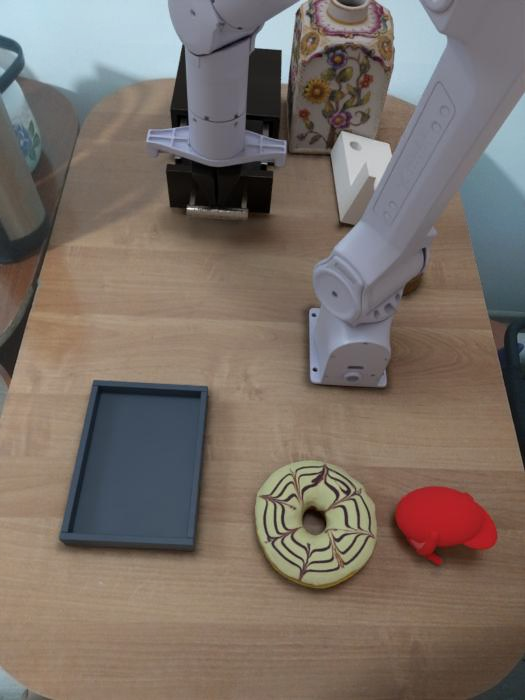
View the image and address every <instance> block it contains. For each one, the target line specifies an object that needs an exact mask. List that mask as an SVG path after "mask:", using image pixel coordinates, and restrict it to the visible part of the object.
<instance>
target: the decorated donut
mask: <svg viewBox="0 0 525 700" xmlns="http://www.w3.org/2000/svg"><path fill="white" fill-rule="evenodd" d="M255 498H256V499H255V505H254V517H255V518H254V523H255V525H254V526H255V531H256V537H257V540H258V542H259V545H260V547H261V549H262V551H263V553H264V556H265V557H266V559H267V561H268V562H269V563H270V564H271V566H272V567H273V569H274V570H275V571H276V572H277V573H279V574H280V575H281V576H283V577H284V578H286V579H288V580H289V581H291V582H293V583H296V584H298V585H301V586H303V587H306V588H307V587H308V588H313V589H328V588H330V587H334V586H336V585H339V584H340V583H342V582H344V581H347V580H348V579H349V578H352V577H353V576H354V575H355V574H357V573H358V572H359V571H360V570H361V569H363V567H364V566H365V565H366V564H367V563H368V561H369V559H370V557H371V556H372V554H373V552H374V549H375V545H376V542H377V540H378V539H377V536H378V521H377V516H376V510H377V509H376V505H375V503H374V501H373V499H372V498H371V497H370V496H369V495H368V494H367V493H366V488H365V486H364V485H363V484H362V483H360V482H359V481H358V480H357V479H355V478H353V477H352V475H351V474H349V473H348V472H347V471H345V470H344V469H342V468H341V467H340V466H338V465H335V464H333V463H330V462H325V461H320V460H316V459H308V460H299V461H297V462H296V461H294V462H290V463H289V464H286V465H283V466H281V467H279V468H278V469H276V470H275V471H274V472H272V473H271V474H270V475H269V477H268V478H267V479H266V480H265V482H263V484H262V486H261V487H260V488H259V490H258V491H257V494H256V497H255ZM308 510H315V512H319V513H320V514H321V515H322V517H323V518H324V520H325V529H324V530H322V532H320V533H319V534H311V533H309V532H308V531H307V530H306V528H305V527H304V524H303V517H304V514H305V512H306V511H308Z"/></svg>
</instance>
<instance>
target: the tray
mask: <svg viewBox="0 0 525 700" xmlns="http://www.w3.org/2000/svg"><path fill="white" fill-rule="evenodd" d="M208 404H209V386H208V385H192V384H176V383H175V384H174V383H158V382H138V381H119V380H102V379H93V380H92V385H91V390H90V394H89V398H88V403H87V407H86V413H85V417H84V420H83V421H84V422H83V426H82V431H81V436H80V440H79V445H78V450H77V453H76V459H75V463H74V468H73V473H72V478H71V481H70V487H69V490H68V496H67V501H66V505H65V510H64V514H63V519H62V522H61V523H62V524H61V528H60V533H59V537H58V540H59V541H60V542H61V543H62V544H63V545H64V546H79V547H80V546H81V547H101V548H102V547H105V548H125V549H147V550H165V551H166V550H167V551H168V550H169V551H191V552H192V551H195V545H196V534H197V524H198V523H197V522H198V514H199V513H198V512H199V503H200V493H201V492H200V490H201V479H202V468H203V460H204V459H203V458H204V445H205V438H206V437H205V435H206V427H207V426H206V425H207V415H208V414H207V413H208Z"/></svg>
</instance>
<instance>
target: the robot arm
mask: <svg viewBox="0 0 525 700" xmlns="http://www.w3.org/2000/svg"><path fill="white" fill-rule="evenodd" d="M300 1H301V0H167V7H168V15H169V17H170V21H171V25H172V27H173V29H174V31H175V33H176V36H177V37H178V40H179V41H180V42H181V44H183V45H184V46H185V58H186V78H187V98H188V117H189V126H184V127H177V128H172V127H171V128H164V129H152V128H151V129H150V128H149V129H148V131H147V135H146V141H145V143H146V151H147V157H152V158H157V157H159V155H160V154H166V155H174V154H175V155H178V156H181V157H184V158H187V159H190V160H192V167H191V172H192V175H193V178H194V179H195V180H196V181H197V182H198V183H199V185H200V186H201V187H202V189H203V191H204V192H205V194H206V196H207V199H208V201H209V204H210V206H220V207H223V206H224V203H225V200H226V198H227V196H228V194H229V192H230V191H231V189H232V188H233V186H234V185H235V184H236V183H237V182H238V181H239V178H240V176H241V168H242V163H248V162H254V161H263V162H274V165H275V166H274V167H277V168H285V167H286V166H285V165H286V158H287V140H283V139H278V140H277V139H273V138H269V137H266V136H263V135H260V134H257V133H254V132H251V131H248V130H245V124H246V102H247V83H248V65H249V55H250V53H252V51H254V50H255V48H256V47H255V46H256V38H257V35H258V34H259V33H260V32H261V31H262V30H263V28H264V26H265V24H266V22H268V21H270V20H271V19H273V18H275V17H276V16H277V15H280V14H281V13H283V12H284V11H286V10H287V9H289V8H291V7H292V6H294V5H296V4H297V3H299V2H300ZM418 1H419V2H420V4H421V6H422V7H423V10H424V11H425V12H426V15H427V16H428V17H429V19H430V21H431V23H432V24H433V26H434V27H435V30H436V31H437V32H438V33H439V34H441V35H444V36H446V41H447V42H446V45H445V47H444V50H443V52H442V53H441V56H440V58H439V60H438V62H437V64H436V66H435V68H434V70H433V72H432V73H431V75H430V78H429V81H428V82H427V84H426V86H425V88H424V91H423V92H422V94H421V97H420V99H419V101H418V103H417V105H416V107H415V109H414V110H413V113H412V114H411V117H410V119H409V121H408V123H407V125H406V127H405V129H404V131H403V133H402V135H401V137H400V139H399V141H398V143H397V145H396V146H395V147H396V148H395V150H394V151H393V154H392V157H391V160H390V162H389V164H388V166H387V168H386V170H385V172H384V174H383V176H382V178H381V180H380V182H379V184H378V186H377V188H376V190H375V192H374V194H373V196H372V198H371V200H370V202H369V204H368V206H367V208H366V210H365V212H364V214H363V216H362V218H361V220H360V221H359V222H358V223H357V224H356V225H353V227H352V228H351V229H350V230H349V231H348V232H347V234H346V235H344V236H343V238H342V239H340V241H339V242H338V243H337V244H336V245H335V246H334V247H333V248H332V251H331V253H330V255H329V256H328V257H325V258H323V259H321V260H320V261H318V262H317V263H316V264H315V265H314V267H313V268H312V274H311V275H312V276H311V277H312V279H311V280H312V286H313V291H314V292H315V296H316V299H318V301H319V303H320V307H311V308H310V309H309V312H308V330H309V331H308V332H309V333H308V334H309V336H308V338H309V340H308V341H309V381H310V382H311V383H312V384H314V385H328V386H330V385H331V386H346V387H348V386H349V387H364V388H365V387H366V388H382V389H383V388H385V387H386V386H387V383H388V381H387V380H388V379H387V369H386V368H387V366H388V364H389V362H390V360H391V356H392V348H391V347H392V346H391V327H392V323H393V320H394V317H395V315H396V312H397V311H398V308H399V306H400V303H401V301H402V297H403V295H402V294H403V288H404V287H405V285H406V283H407V282H408V281H410V280H411V279H412V278H413V277H416V276H418V275H419V274H421V273H422V272H423V271H424V272H425V270H426V269H427V268H428V266H429V263H430V259H431V247H432V244H433V242H434V241H435V239H436V238H437V236H438V231H437V230H436V228H435V224H436V222H437V221H438V220H439V218H440V217H441V216H442V213H443V212H444V211H445V210H446V209H447V207H448V205H449V204H450V202H451V201H452V199H453V198H454V196H455V195H456V194H457V192H458V190H459V189H460V188H461V186H462V185H463V183H464V182H465V181H466V179H467V178H468V176H469V174H470V173H471V172H472V170H473V169H474V167H475V166H476V164H477V163H478V162H479V159H481V157H482V156H483V154H484V152H485V151H486V150H487V148H488V147H489V146H490V144H491V142H492V141H493V140H494V138H495V136H496V135H497V134H498V132H499V131H500V129H501V128H502V126H503V125H504V123H505V122H506V121H507V119H508V117H510V115H511V114H512V112H513V110H514V109H515V107H516V106H517V104H518V103H519V102H520V100H521V98H522V97H523V96H524V94H525V0H418ZM217 167H218V175H217ZM217 180H218V182H217ZM424 272H423V273H424ZM314 370H316V371H314Z"/></svg>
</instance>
